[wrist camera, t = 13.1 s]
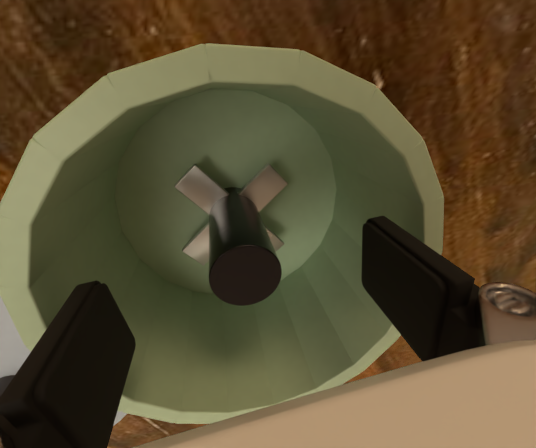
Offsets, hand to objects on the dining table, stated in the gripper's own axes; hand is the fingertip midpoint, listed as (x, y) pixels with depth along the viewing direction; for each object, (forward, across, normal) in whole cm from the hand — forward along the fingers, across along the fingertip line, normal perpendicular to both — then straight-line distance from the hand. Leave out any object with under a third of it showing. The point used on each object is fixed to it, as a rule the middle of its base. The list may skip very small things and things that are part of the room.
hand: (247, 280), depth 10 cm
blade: (+7, 0, 0) cm, 7 cm away
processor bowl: (+8, 0, 0) cm, 8 cm away
